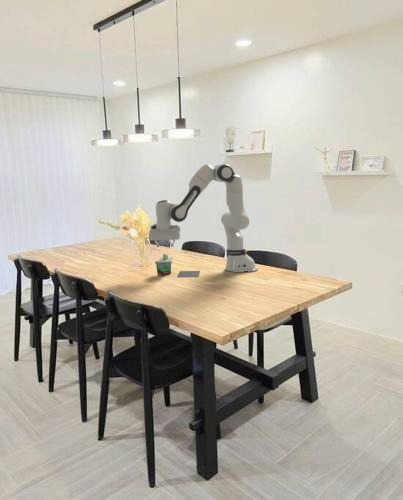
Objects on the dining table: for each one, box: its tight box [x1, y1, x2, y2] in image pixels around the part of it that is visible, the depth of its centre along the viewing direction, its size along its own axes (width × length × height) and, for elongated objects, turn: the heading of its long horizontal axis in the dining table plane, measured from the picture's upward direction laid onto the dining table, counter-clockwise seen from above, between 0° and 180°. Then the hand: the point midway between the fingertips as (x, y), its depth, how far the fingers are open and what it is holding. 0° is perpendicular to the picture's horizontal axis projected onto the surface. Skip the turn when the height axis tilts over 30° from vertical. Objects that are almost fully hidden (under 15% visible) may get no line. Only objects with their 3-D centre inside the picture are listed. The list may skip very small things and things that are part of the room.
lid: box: [158, 253, 174, 263], centre depth 259 cm, size 8×13×4 cm, turn 177°
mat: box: [176, 270, 201, 279], centre depth 261 cm, size 14×17×1 cm
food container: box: [155, 260, 173, 277], centre depth 261 cm, size 12×6×10 cm, turn 129°
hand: (165, 246), depth 258 cm, fingers open, 8 cm apart
